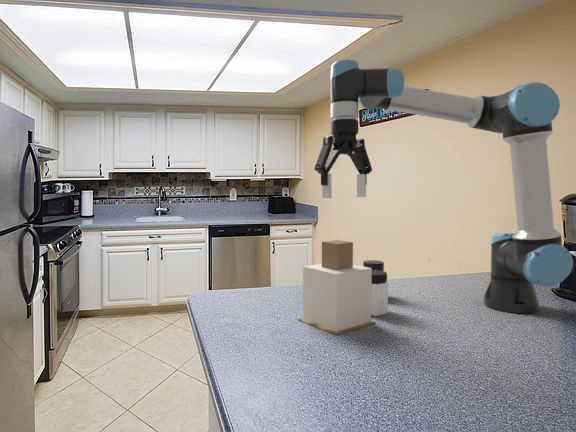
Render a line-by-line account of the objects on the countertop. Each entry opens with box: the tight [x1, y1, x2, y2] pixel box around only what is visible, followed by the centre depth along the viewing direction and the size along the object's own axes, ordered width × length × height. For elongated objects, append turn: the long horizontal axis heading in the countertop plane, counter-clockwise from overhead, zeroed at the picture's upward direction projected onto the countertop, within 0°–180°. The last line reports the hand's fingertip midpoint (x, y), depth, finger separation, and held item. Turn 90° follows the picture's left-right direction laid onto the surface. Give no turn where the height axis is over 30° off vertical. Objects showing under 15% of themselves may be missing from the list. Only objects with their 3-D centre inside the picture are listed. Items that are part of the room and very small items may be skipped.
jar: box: [371, 270, 389, 317], centre depth 123 cm, size 9×8×12 cm
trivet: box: [297, 317, 376, 336], centre depth 114 cm, size 15×15×1 cm
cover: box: [302, 239, 372, 332], centre depth 114 cm, size 13×13×22 cm
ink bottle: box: [362, 259, 385, 271], centre depth 140 cm, size 10×9×12 cm
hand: (344, 197), depth 114 cm, fingers open, 13 cm apart
